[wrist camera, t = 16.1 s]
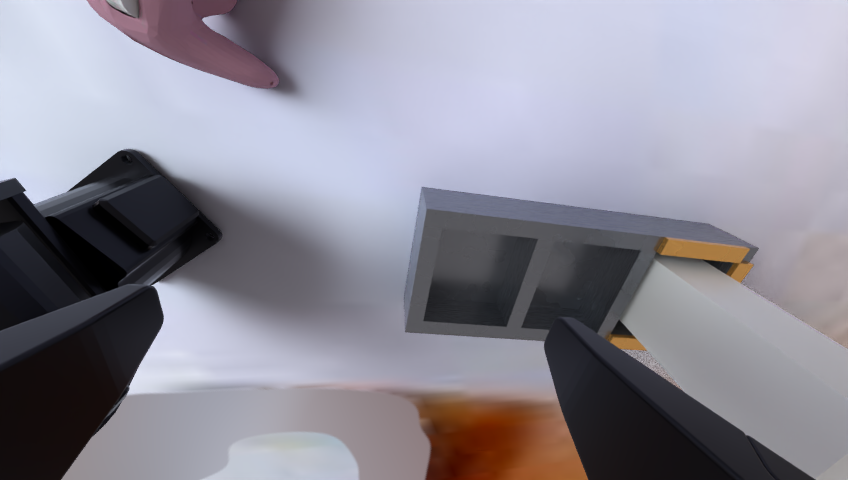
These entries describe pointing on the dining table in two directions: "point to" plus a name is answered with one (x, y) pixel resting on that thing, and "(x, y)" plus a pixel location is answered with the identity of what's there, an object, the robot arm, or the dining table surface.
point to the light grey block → (746, 361)
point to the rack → (542, 265)
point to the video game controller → (187, 36)
